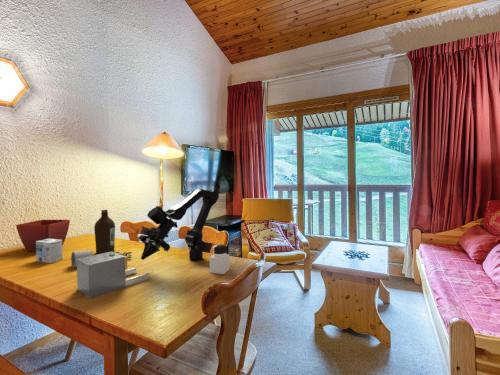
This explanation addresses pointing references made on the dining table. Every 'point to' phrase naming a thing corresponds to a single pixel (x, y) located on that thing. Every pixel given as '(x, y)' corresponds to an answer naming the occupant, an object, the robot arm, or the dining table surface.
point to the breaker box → (104, 274)
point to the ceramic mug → (79, 256)
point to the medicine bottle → (219, 260)
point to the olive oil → (104, 234)
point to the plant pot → (42, 232)
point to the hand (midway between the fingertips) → (141, 259)
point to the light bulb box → (49, 250)
